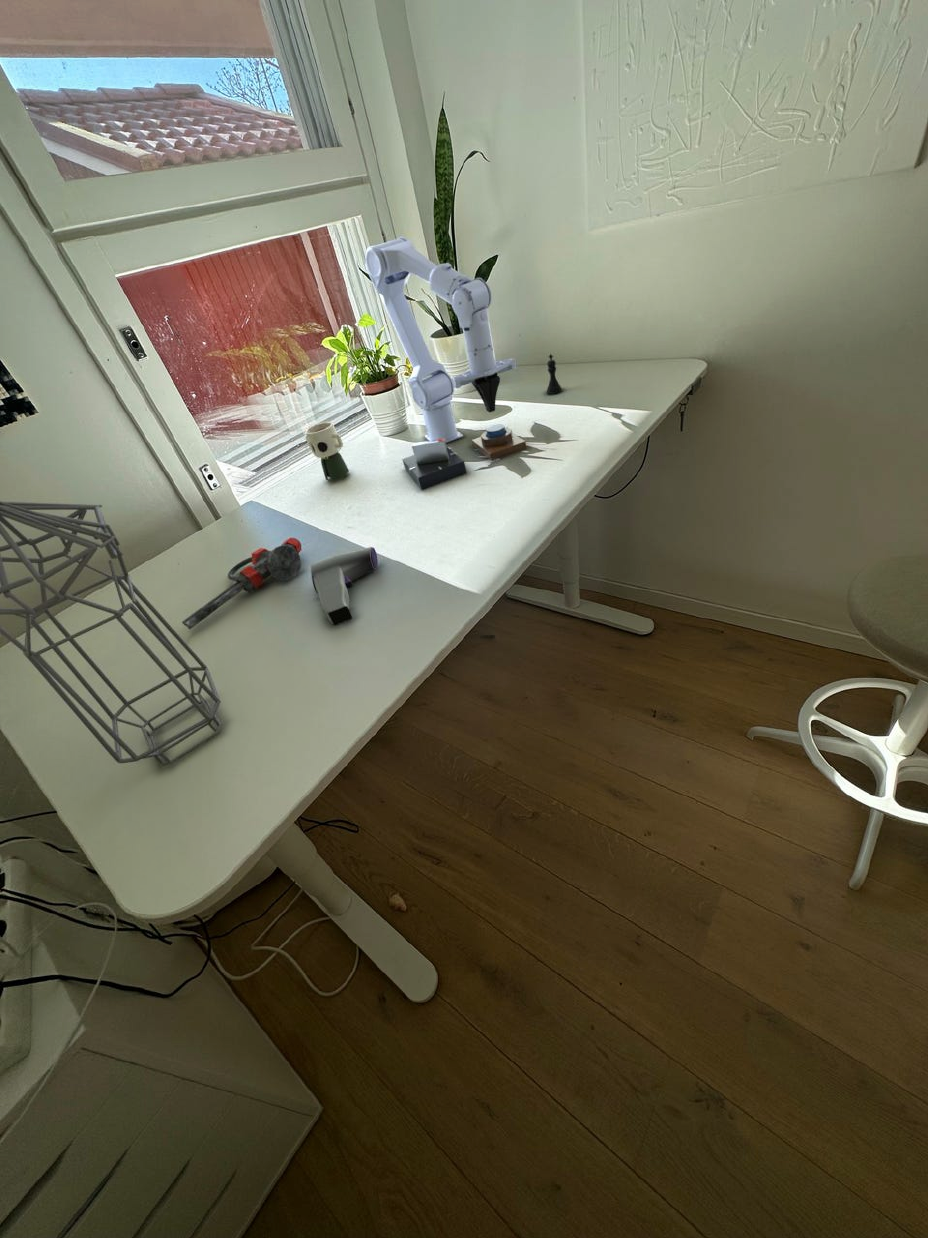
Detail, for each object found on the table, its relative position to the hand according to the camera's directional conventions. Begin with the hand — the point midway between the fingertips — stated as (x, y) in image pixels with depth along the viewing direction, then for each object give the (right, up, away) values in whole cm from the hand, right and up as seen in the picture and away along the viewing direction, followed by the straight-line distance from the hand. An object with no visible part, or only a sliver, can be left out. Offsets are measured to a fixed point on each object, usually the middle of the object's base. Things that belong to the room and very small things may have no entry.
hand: (490, 410), depth 120 cm
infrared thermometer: (-25, -44, -30) cm, 59 cm away
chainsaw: (-48, -42, -21) cm, 67 cm away
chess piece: (+20, +17, +28) cm, 38 cm away
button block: (+2, -7, +5) cm, 9 cm away
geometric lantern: (-44, -64, -48) cm, 92 cm away
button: (+2, -4, +3) cm, 6 cm away
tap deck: (-13, -14, +2) cm, 19 cm away
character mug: (-38, -12, +13) cm, 42 cm away
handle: (-13, -12, -1) cm, 18 cm away
